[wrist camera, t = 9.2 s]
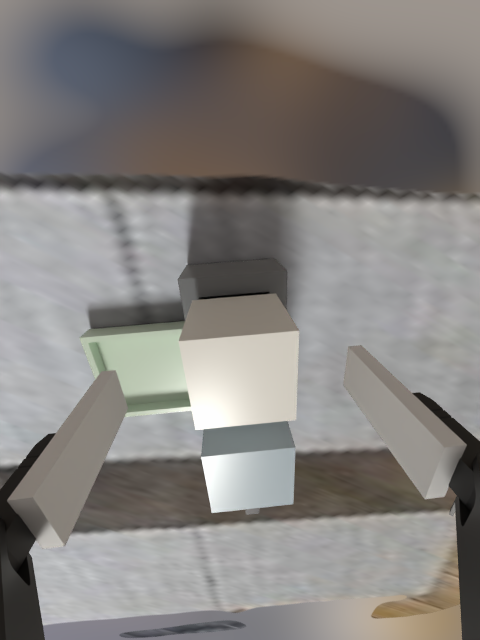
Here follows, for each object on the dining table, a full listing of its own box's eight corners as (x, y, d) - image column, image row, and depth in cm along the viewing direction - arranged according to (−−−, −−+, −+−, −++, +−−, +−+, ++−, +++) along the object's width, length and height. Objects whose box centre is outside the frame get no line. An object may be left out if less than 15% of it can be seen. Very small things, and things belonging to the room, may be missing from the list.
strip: (212, 431, 31) (207, 552, 20) (186, 265, 22) (152, 318, 12) (275, 425, 31) (303, 541, 20) (274, 258, 23) (321, 303, 12)
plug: (198, 281, 22) (178, 341, 12) (265, 276, 22) (299, 330, 12) (206, 340, 25) (195, 429, 15) (266, 334, 25) (296, 419, 15)
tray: (116, 406, 29) (110, 418, 27) (89, 329, 24) (79, 337, 23) (203, 398, 29) (201, 409, 27) (190, 320, 25) (188, 328, 23)
